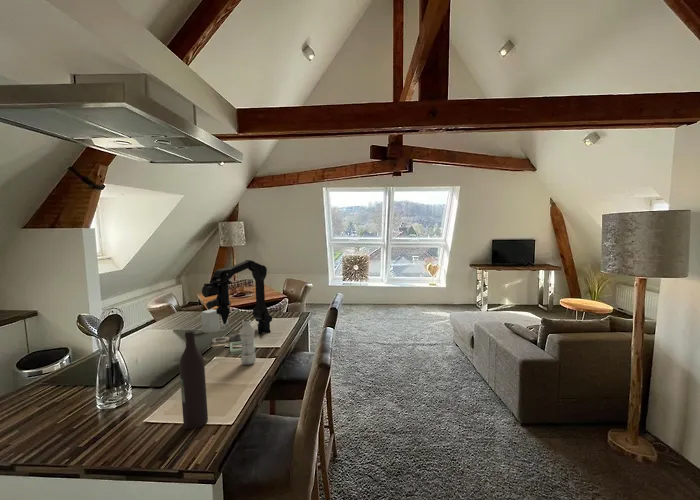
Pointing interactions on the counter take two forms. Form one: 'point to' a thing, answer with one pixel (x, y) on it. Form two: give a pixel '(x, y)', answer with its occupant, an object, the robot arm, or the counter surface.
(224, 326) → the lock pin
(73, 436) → the counter surface
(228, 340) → the pulley board
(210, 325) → the supplement box
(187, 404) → the wine bottle
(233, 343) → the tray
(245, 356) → the plastic bottle
